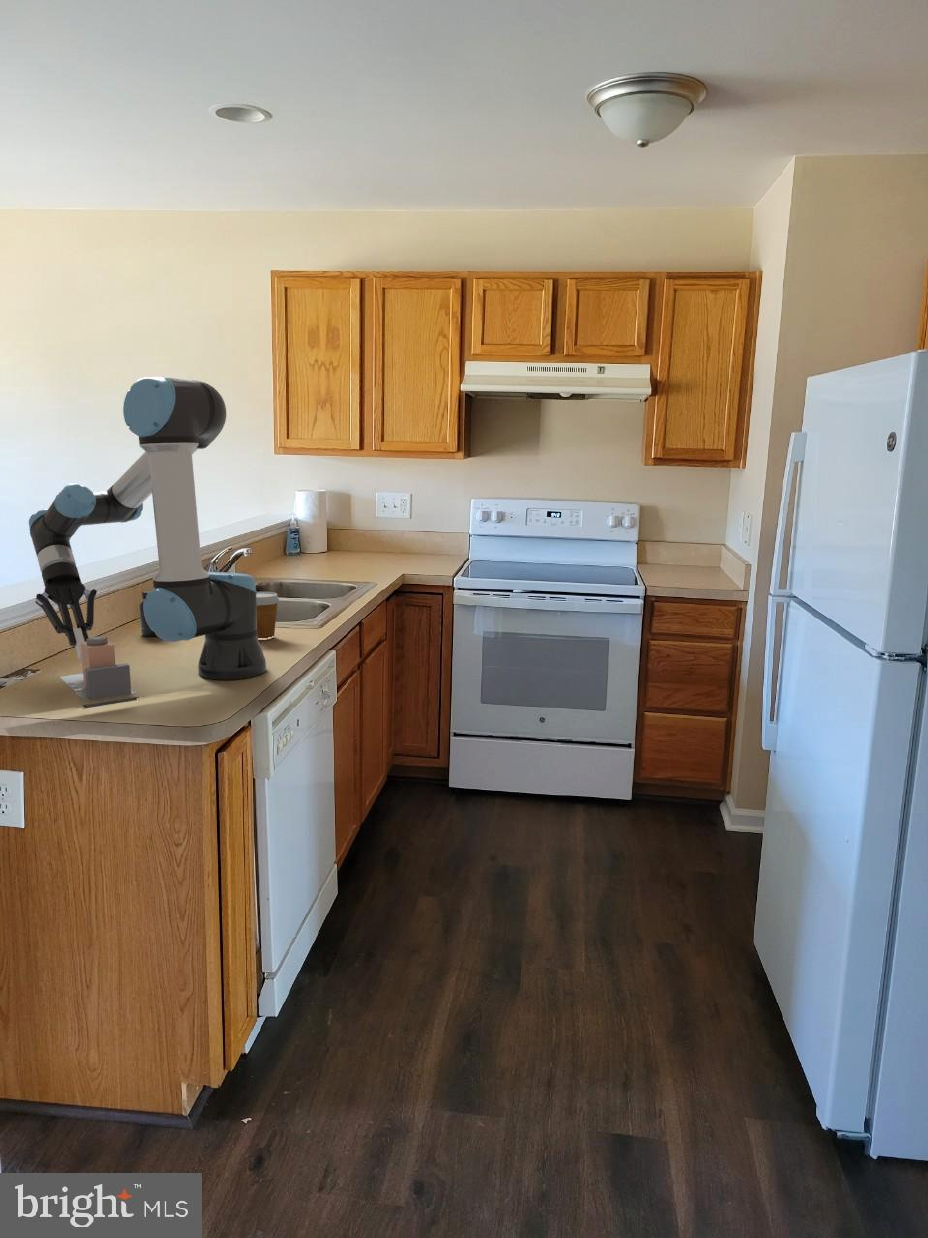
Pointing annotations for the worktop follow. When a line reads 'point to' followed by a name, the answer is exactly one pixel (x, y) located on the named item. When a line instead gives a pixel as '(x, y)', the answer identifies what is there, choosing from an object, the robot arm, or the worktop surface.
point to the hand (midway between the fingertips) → (83, 656)
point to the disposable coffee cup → (266, 613)
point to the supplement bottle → (144, 626)
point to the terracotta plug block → (97, 653)
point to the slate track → (102, 684)
